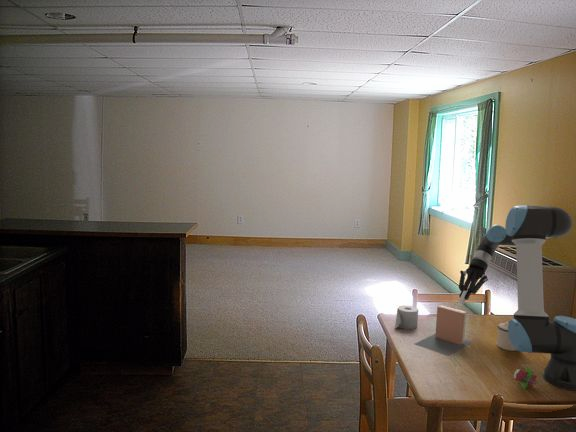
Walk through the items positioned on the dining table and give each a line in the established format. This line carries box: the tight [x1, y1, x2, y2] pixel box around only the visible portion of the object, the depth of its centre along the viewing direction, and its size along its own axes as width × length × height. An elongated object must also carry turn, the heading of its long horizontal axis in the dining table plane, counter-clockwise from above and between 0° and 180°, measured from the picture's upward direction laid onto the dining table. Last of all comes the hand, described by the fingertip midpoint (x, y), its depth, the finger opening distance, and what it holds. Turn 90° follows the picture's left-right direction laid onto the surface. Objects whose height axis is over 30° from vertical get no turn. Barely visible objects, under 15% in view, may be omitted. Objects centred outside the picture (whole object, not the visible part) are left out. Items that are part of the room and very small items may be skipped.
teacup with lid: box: [496, 319, 517, 352], centre depth 214 cm, size 12×9×12 cm
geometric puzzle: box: [513, 366, 538, 390], centre depth 177 cm, size 7×7×8 cm
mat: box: [414, 333, 473, 356], centre depth 215 cm, size 22×16×1 cm
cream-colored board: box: [434, 305, 467, 345], centre depth 217 cm, size 3×12×14 cm, turn 44°
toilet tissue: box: [394, 304, 419, 330], centre depth 233 cm, size 9×13×9 cm
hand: (460, 304), depth 222 cm, fingers closed
